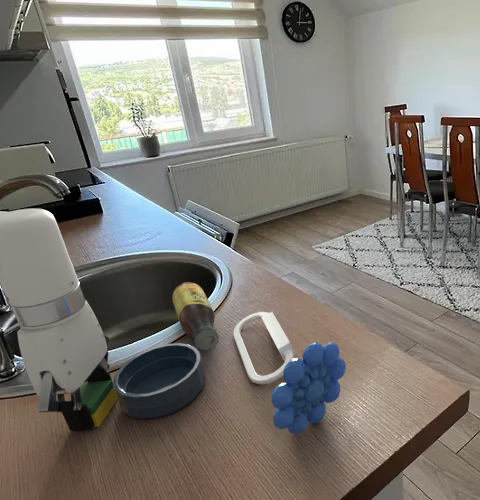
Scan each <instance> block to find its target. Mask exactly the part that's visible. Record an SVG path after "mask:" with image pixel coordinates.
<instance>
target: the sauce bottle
mask: <svg viewBox="0 0 480 500" xmlns="http://www.w3.org/2000/svg"><path fill="white" fill-rule="evenodd" d="M171 298H172V304H173V307H174V309H175V313H176V316H177V318H178V322H179V324H180V326H181V328H182V330H183V332H184V333H185V334H186V335H187V336H189V337H192V341H193V345H194V347H195V348H196V349H197V350H200V351H203V352H204V351H205V352H206V351H209V350H212V349H214V348H215V347H216V345H218V343H219V333H218V332H217V330H216V328H215V327H214V323H215V319H216V314H215V311H214V309H213V307H212V305H211V303H210V301H209V298H208V297H207V295H206V293H205V292H204V289H203V288H202V287H201V286H200V285H199V284H197V283H195V282H190V281H186V282H183V283H181V284H179V285H177V286H176V287H175V289H174V290H173V293H172V295H171Z"/></svg>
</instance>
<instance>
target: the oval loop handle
mask: <svg viewBox="0 0 480 500" xmlns="http://www.w3.org/2000/svg"><path fill="white" fill-rule="evenodd" d="M259 319H262V322H263V323H264V325H265V327H266V329H267V331H268V333H269V335H270V337H271V338H272V339H271V340H273V343H274V345H275V346H276V349H277V351H278V353H279V354H280V356H281V358H282V360H283V362H284V363H283V364H282V365H281V366H280V367H279V368H278V369H276V370H275V371H274V372H271V373H269V374H267V375H260V374H258V373H257V372H256V369H255V367H254V365H253V362H252V360H251V357H250V355H249V352H248V350H247V347H246V345H245V341H244V340H243V337H242V334H241V332H242V329H243V328H245V326H246V325H248V324H249V323H251V322H253V321H255V320H256V321H257V320H259ZM232 333H233V334H232V335H233V336H232V337H233V339H234V342H235V345H236V348H237V350H238V353H239V356H240V359H241V361H242V363H243V364H242V365H243V367H244V369H245V372H246V375H247V377H248V379H249V380H250V382H252V383H253V384H257V385H267V384H271V383H273V382H275V381H277V380H279V379H280V378H282V377H283V371H284V368H285V366H286V365H287V363H288V362H289V361H290V360H292V359H295V356H296V355H297V353H296V351H295V349H294V347H293V345H292V343H291V341H290V340H289V338H288V335H287V334H286V333H285V331H284V329H283V328H282V326H281V325H280V323H279V321H278V319H277V318H276V316H275V314H274V313H273V311H269V312H267V311H258V312H254V313H252V314H249V315H247V316H246V317H244V318H242V319H241V320H240V321H239V322H238V323H237V324H236V326H235V327H234V329H233V332H232Z"/></svg>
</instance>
